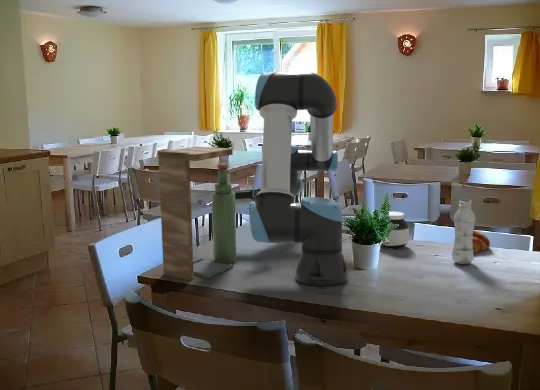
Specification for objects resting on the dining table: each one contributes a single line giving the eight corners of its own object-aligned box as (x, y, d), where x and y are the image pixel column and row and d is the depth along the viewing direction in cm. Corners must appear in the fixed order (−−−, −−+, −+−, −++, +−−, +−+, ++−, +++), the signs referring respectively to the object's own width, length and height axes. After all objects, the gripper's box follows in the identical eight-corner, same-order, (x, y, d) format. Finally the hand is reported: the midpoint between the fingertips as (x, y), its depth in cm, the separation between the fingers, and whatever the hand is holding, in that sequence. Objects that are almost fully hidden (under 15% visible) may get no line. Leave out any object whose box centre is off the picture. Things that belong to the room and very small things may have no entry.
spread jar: (411, 247, 204) (413, 214, 202) (390, 253, 197) (391, 219, 195) (384, 240, 213) (385, 208, 211) (363, 246, 206) (364, 213, 204)
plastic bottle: (474, 261, 187) (477, 199, 183) (471, 267, 181) (475, 203, 177) (453, 259, 189) (456, 198, 186) (450, 265, 183) (453, 201, 180)
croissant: (474, 250, 212) (464, 229, 213) (500, 240, 207) (490, 219, 208) (455, 263, 195) (444, 241, 196) (483, 253, 189) (472, 230, 190)
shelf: (200, 260, 191) (196, 145, 184) (235, 267, 184) (232, 148, 177) (163, 274, 177) (158, 151, 170) (199, 282, 170) (195, 153, 163)
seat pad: (200, 260, 191) (200, 257, 190) (232, 267, 184) (232, 264, 183) (175, 270, 181) (174, 267, 180) (208, 277, 174) (208, 274, 173)
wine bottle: (240, 261, 189) (238, 164, 183) (218, 265, 186) (216, 166, 180) (231, 256, 196) (228, 162, 190) (210, 259, 192) (207, 163, 187)
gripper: (303, 205, 206) (270, 216, 188) (245, 198, 219) (209, 208, 202) (303, 183, 204) (270, 193, 187) (245, 178, 218) (208, 186, 200)
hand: (238, 201), depth 194 cm, fingers open, 13 cm apart
